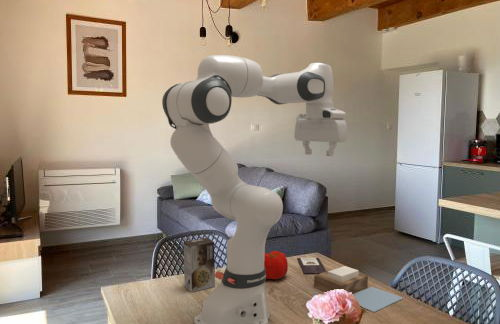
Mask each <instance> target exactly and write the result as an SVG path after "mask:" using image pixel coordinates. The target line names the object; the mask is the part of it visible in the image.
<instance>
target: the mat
mask: <svg viewBox="0 0 500 324" xmlns="http://www.w3.org/2000/svg"><path fill="white" fill-rule="evenodd" d="M353 294H354V295H355V298H356V299H357V301H358V302H359V304H360V305H361V306H362V307H363V308H362V309H364V308H365V309H364V310H366V309H368V310H367V311H369V310H370V311H369V312H371V311H372V312H371V313H377V312H379V311H381V310H382V309H385V308H387V307H389V306H391V305H394V304H396V303H397V302H400V301H402V300H403V299H404V297H402V296H399V295H396V294H394V293H391V292H388V291H385V290H382V289H380V288H376V287H374V286H371V287H367V288H365V289H362V290H360V291H357V292H355V293H353ZM378 310H379V311H378ZM376 311H377V312H376Z"/></svg>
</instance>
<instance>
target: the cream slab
mask: <svg viewBox="0 0 500 324" xmlns="http://www.w3.org/2000/svg"><path fill="white" fill-rule="evenodd" d="M339 267H340V268H338V267H337V269H335V268H333V269H334V270H332V269H330V270H331V271H329V270H327V271H328V277H329V278H332V279H334V280H337V281H340V282H344V281H347V280H349V279H352V278H355V277H358V276H359V273H360V272H359V270H358V269H356V268H352V267H349V266H346V265H343V266H339Z"/></svg>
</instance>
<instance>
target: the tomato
mask: <svg viewBox="0 0 500 324" xmlns="http://www.w3.org/2000/svg"><path fill="white" fill-rule="evenodd" d="M264 267H265V269H266V280H278V279H281V278H283V277H285V276H286V275H287V273H288V270H289V269H288V268H289V264H288V259H287V257H286V254H284V252H280V251H278V250H273V251H270V252H268V253H267V252H265V255H264Z"/></svg>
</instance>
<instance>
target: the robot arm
mask: <svg viewBox="0 0 500 324" xmlns="http://www.w3.org/2000/svg"><path fill="white" fill-rule="evenodd" d="M333 94H334V74H333V69H332V66H330V64H327V63H325V62H319V61H317V62H316V61H315V62H312V63H309V64H308V66H307V67H306V68H304V69H302V70H299V71H295V72H288V73H277V74H273V75H270V76H269V77H268V76H264V73H263V69H262V67H261V65H260V64H259V63H258V62H257V61H254V60H252V59H250V58H246V57H242V56H238V55H237V56H236V55H230V54H229V55H228V54H210V55H208V56H206V57H204V58H203V59H202V60H201V61H200V63H199V65H198V67H197V77H196V80H189V81H185V82H183V83H181V82H180V83H176V84H174V85H172V86H171V87H169V88H168V89H167V90H166V91H165V92H164V94H163V96H162V100H161V103H162V109H163V112H164V114H165V116H166V118H167V120H168V121H167V122H168V124H169V126H170V127H171V128H172V129H174V131H173V132H172V134H171V138H170V141H169V142H170V147H171V149H172V151H173V152H174V154H175V155H176V156H177V158H178V160H179V161H180V163H181V164H182V165H183V166H184V168H185V169H186V170H187V171H188V172H189V174H191V175H192V176H193V177H194V179H195V180H196V181H197V182H198V183H199V184H200V185H201V187H203V188H204V189H205V191H206V192H207V193H208V194H209V195H208V196H209V197H210V201H211V206H212V208H213V209H214V210H215V211H216V212H217V213H218V214H220V215H221V216H223V217H224V218H227V219H230V220H233V221H236V230H235V232H234V235H233V236H231V237H230V238H229V239H228V240H227V243H226V267H225V269H224V271H223V272H221V271H220V270H217V271H215V279H218V280H221V282H220V283H219V284H218V285H217V286H216V288H215V289H213V291H211V293H210V294H209V295H208V296H207V297H206V298H204V300H203V304H202V309H201V313H198V314H197V315H195V316H194V317H193V318H194V319H193V322H194V323H193V324H269V319H270V317H271V315H270V314H271V313H270V310H269V306H268V302H267V296H266V287H265V286H266V285H265V282H266V280H267V279H266V269H265V267H264V255H265V253H266V251H265V250H266V241H267V237H268V234H269V233H270V230H271V228H272V227H273V226H274V225H276V224H277V223H278V221H280V220H281V217H282V215H283V210H284V204H283V200H282V198H281V196H280V195H279V194H278V193H276V192H275V191H273V190H271V189H269V188H267V187H264V186H259V185H254V184H248V183H246V182H245V181H243V180H242V179H241V178H240V176H239V167H238V163H237V162H236V160H235V159H234V158H233V157H232V156H231V155H230V154H229V152H228V151H227V150H226V149H225V148H224V146H223V145H222V144H221V143H220V142H219V141H218V139H217V138H216V137H214V134H213V133H212V132H211V129H210V125H209V124H216V123H218V122H221V121H223V120H225V119H226V117H227V116H228V115H229V113H230V112H231V108H232V102H233V101H232V98H251V97H256V96H258V97H264V98H266V99H268V100H269V101H270V102H272V103H273V104H276V105H280V106H281V105H285V104H298V103H302V104H303V103H305V113H300V114H299V115H298V116H297V117H296V119H295V125H294V140H295V141H297V142H298V141H299V142H300V141H301V142H302V146H303V148H304V154H305V155H307V156H308V155H309V156H310V155H312V151H313V149H312V148H310V143H311V142H319V143H321V142H323V143H328V146H329V148H328V150H326V152H325V153H326V154H325V155H326V157H334V151H335V149H336V147H337V144H338V143H345V142H346V140H347V135H348V132H347V129H348V127H347V126H348V125H347V121H346V120H345V119H346V118H347V113H346V112H345V111H344V110H340V109H337V108H335V107H334V101H333Z"/></svg>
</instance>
